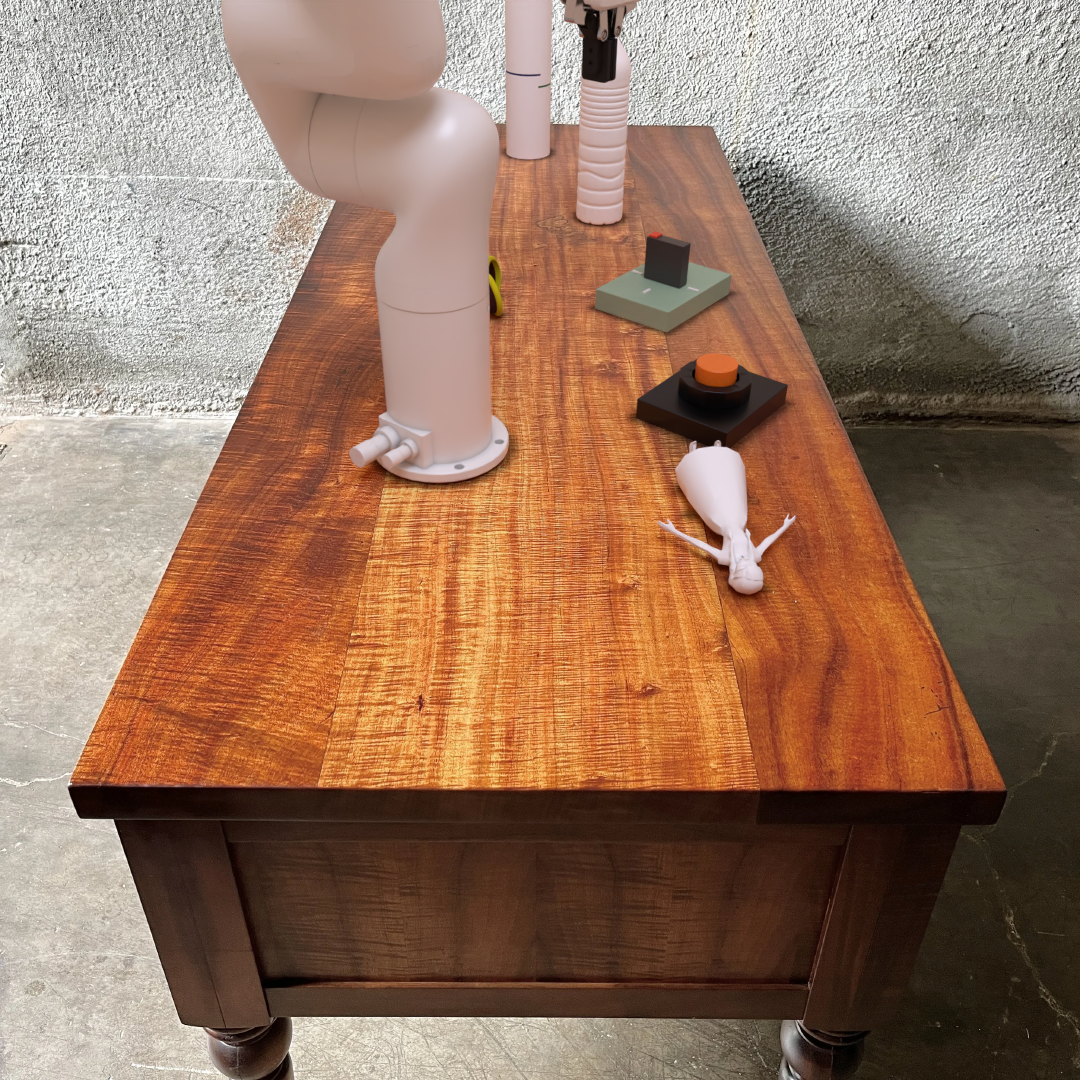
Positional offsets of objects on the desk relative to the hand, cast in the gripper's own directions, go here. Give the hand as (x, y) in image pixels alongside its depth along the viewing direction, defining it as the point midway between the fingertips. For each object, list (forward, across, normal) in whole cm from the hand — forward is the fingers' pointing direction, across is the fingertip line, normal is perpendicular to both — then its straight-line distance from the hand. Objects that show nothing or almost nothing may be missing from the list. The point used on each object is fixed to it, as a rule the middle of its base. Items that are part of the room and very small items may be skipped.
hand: (598, 79), depth 107 cm
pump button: (+22, -12, -24) cm, 34 cm away
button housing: (+25, -12, -24) cm, 37 cm away
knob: (+23, +7, -6) cm, 24 cm away
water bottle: (+26, +26, +17) cm, 40 cm away
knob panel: (+25, +7, -6) cm, 27 cm away
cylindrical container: (+26, +42, +43) cm, 65 cm away
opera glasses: (+25, -8, +10) cm, 29 cm away
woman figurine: (+25, -29, -35) cm, 52 cm away
